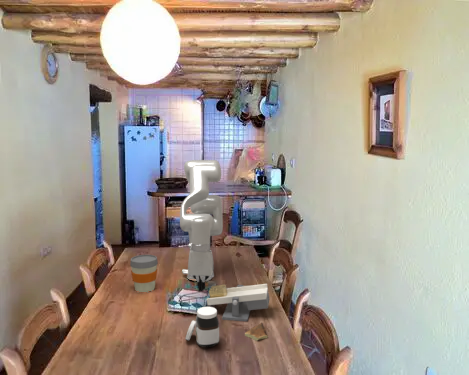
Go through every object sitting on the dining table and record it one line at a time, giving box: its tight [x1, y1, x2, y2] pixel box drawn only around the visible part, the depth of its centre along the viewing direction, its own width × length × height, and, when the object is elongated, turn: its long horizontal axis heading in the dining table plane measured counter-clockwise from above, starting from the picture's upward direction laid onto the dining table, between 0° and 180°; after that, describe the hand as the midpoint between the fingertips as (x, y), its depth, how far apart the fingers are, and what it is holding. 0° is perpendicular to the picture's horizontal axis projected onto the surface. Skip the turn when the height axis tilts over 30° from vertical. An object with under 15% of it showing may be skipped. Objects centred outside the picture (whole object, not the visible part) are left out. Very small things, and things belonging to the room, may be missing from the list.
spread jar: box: [185, 306, 220, 348], centre depth 138 cm, size 12×11×12 cm
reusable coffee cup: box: [130, 254, 158, 293], centre depth 185 cm, size 13×13×15 cm
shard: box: [244, 322, 269, 342], centre depth 145 cm, size 11×8×2 cm
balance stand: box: [221, 284, 251, 322], centre depth 162 cm, size 10×17×8 cm, turn 171°
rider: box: [208, 283, 227, 298], centre depth 163 cm, size 6×6×4 cm
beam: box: [206, 283, 270, 311], centre depth 162 cm, size 24×10×6 cm, turn 81°
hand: (201, 290), depth 164 cm, fingers closed
